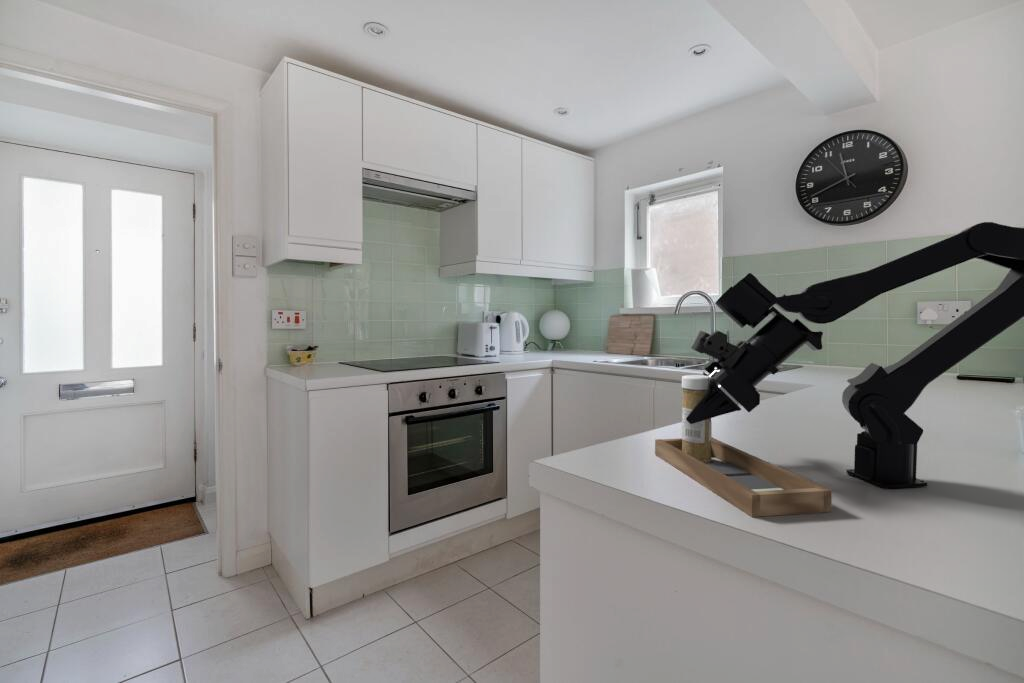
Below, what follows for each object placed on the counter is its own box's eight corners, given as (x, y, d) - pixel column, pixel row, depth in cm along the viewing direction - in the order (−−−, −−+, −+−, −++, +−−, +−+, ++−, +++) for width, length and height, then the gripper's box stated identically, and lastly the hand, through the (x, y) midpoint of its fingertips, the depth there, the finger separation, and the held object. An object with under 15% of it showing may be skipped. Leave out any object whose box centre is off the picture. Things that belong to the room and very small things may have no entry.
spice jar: (717, 461, 74) (719, 376, 73) (699, 466, 72) (701, 378, 71) (692, 454, 78) (693, 373, 77) (674, 459, 75) (675, 375, 75)
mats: (729, 464, 72) (729, 462, 72) (779, 490, 61) (779, 487, 61) (682, 467, 71) (682, 464, 71) (725, 493, 60) (725, 490, 60)
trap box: (711, 451, 79) (711, 437, 79) (831, 511, 55) (831, 490, 55) (655, 454, 78) (655, 439, 78) (751, 516, 53) (752, 495, 53)
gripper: (717, 313, 81) (650, 375, 85) (735, 311, 64) (649, 389, 67) (767, 359, 79) (696, 420, 83) (799, 371, 62) (707, 448, 65)
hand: (687, 418), depth 75 cm, fingers closed on spice jar, 4 cm apart
